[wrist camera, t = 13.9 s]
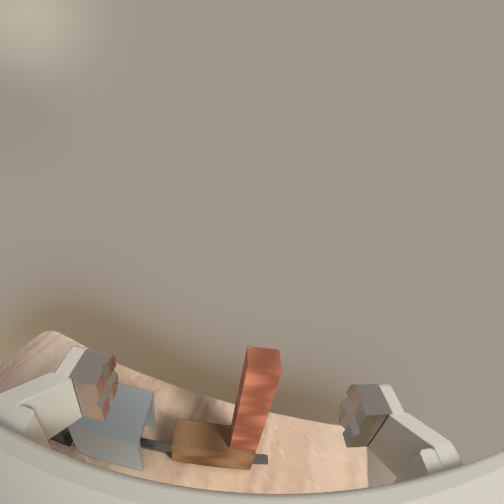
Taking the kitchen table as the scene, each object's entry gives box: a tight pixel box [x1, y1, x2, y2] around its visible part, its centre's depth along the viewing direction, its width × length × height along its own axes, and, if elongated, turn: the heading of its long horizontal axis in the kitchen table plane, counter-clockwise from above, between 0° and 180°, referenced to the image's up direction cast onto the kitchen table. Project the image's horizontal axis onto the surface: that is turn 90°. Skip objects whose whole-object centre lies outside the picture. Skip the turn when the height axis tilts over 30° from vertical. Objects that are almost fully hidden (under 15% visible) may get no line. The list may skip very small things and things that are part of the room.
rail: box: [140, 438, 268, 464], centre depth 34 cm, size 26×1×1 cm, turn 91°
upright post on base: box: [171, 346, 282, 470], centre depth 32 cm, size 10×4×18 cm, turn 91°
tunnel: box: [68, 383, 155, 471], centre depth 33 cm, size 9×9×7 cm
